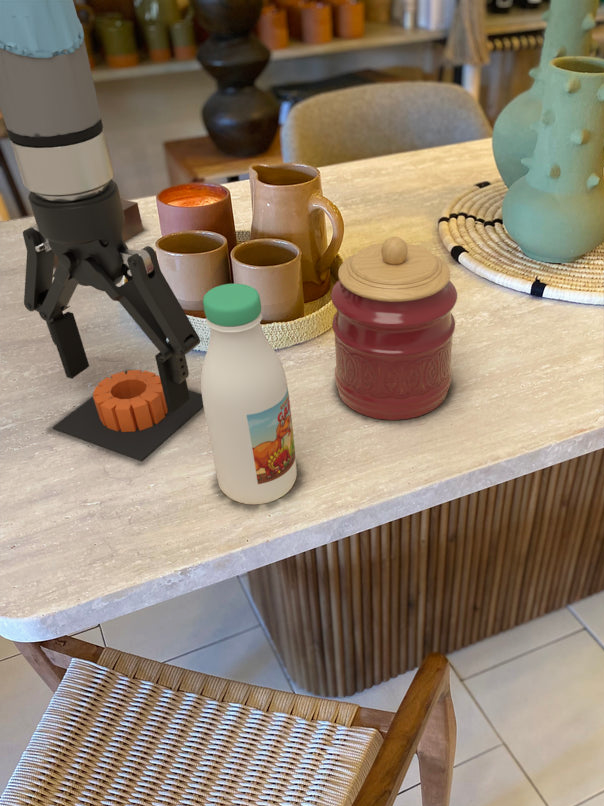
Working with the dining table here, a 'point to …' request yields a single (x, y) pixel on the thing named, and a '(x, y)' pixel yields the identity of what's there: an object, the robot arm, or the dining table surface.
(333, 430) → the dining table surface
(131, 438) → the mat
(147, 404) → the orange gear
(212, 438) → the milk bottle
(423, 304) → the kitchen canister
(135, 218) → the peg rack
